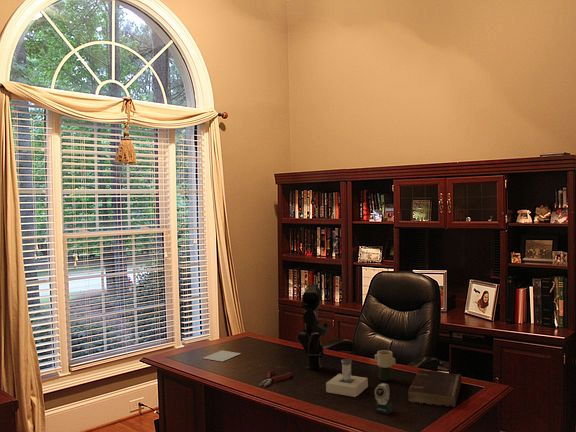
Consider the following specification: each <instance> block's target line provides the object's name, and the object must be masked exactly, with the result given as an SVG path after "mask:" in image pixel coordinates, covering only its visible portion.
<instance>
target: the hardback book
mask: <svg viewBox="0 0 576 432" xmlns="http://www.w3.org/2000/svg"><path fill="white" fill-rule="evenodd" d="M461 386H462V375H461V374H458V373H451V372H440V371H435V370H434V371H432V370H423V369H418V371H417V373H416V375H415V377H414V379H413V380H412V383H411V384H410V386H409V388H408V389H407V400H408V401H410V402H409V403H415V402H417V404H423V403H426V404H425V405H432V404H435V405H434V406H441V405H445V406H444V407H449V406H453V407H452V408H456V405H457V401H458V397H459V394H460V389H461ZM418 402H419V403H418Z"/></svg>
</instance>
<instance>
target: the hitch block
mask: <svg viewBox="0 0 576 432" xmlns="http://www.w3.org/2000/svg"><path fill="white" fill-rule="evenodd" d="M368 380H369V379H368V377H363V376H357V375H351V384H350V383H344V382H342V373H338V374H337V375H335V376H334V377H333V378H331V379H329V380H328V381H326V383H325V391H326V392H325V393H330V394H334V395H335V394H336V395H342V396H347V397H352V398H353V397H354V398H357V397H358V396H359V395H360V394H361V393H362V392H364V391H365V389H367V388H368V387H369V383H368V382H369V381H368ZM356 396H357V397H356Z"/></svg>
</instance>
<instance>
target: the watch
mask: <svg viewBox="0 0 576 432" xmlns="http://www.w3.org/2000/svg"><path fill="white" fill-rule="evenodd" d="M390 392H391V391H390V386H389V384H388V383H383V382H382V383H381V382H380V384H378V385H377V386H375V389H374V397H375V400H376V403H375V404H374V413H376V412H378V413H377V414H381V413H383V414H382V415H386V414H389V413H390V414H391V413H392V412H393V403H392V402H389V399H390V394H391V393H390ZM390 414H389V415H390Z"/></svg>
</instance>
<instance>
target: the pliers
mask: <svg viewBox="0 0 576 432" xmlns="http://www.w3.org/2000/svg"><path fill="white" fill-rule="evenodd" d="M275 373H276V372H275V369H271V370H269V371H268V372H267V374H266V376H265V377H264V380H263V381H262V382H261V383H259V385H258V387H261V386H263V387H267V386H268V385H271V384H272V383H273V384H276V382H280V381H286V380H288V379H290V378H291V377H292V376H293V373H292V372H290V371H289V372H287V373H286V374H281V375H277V376H273V375H274V374H275ZM271 376H272V377H271Z"/></svg>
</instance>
